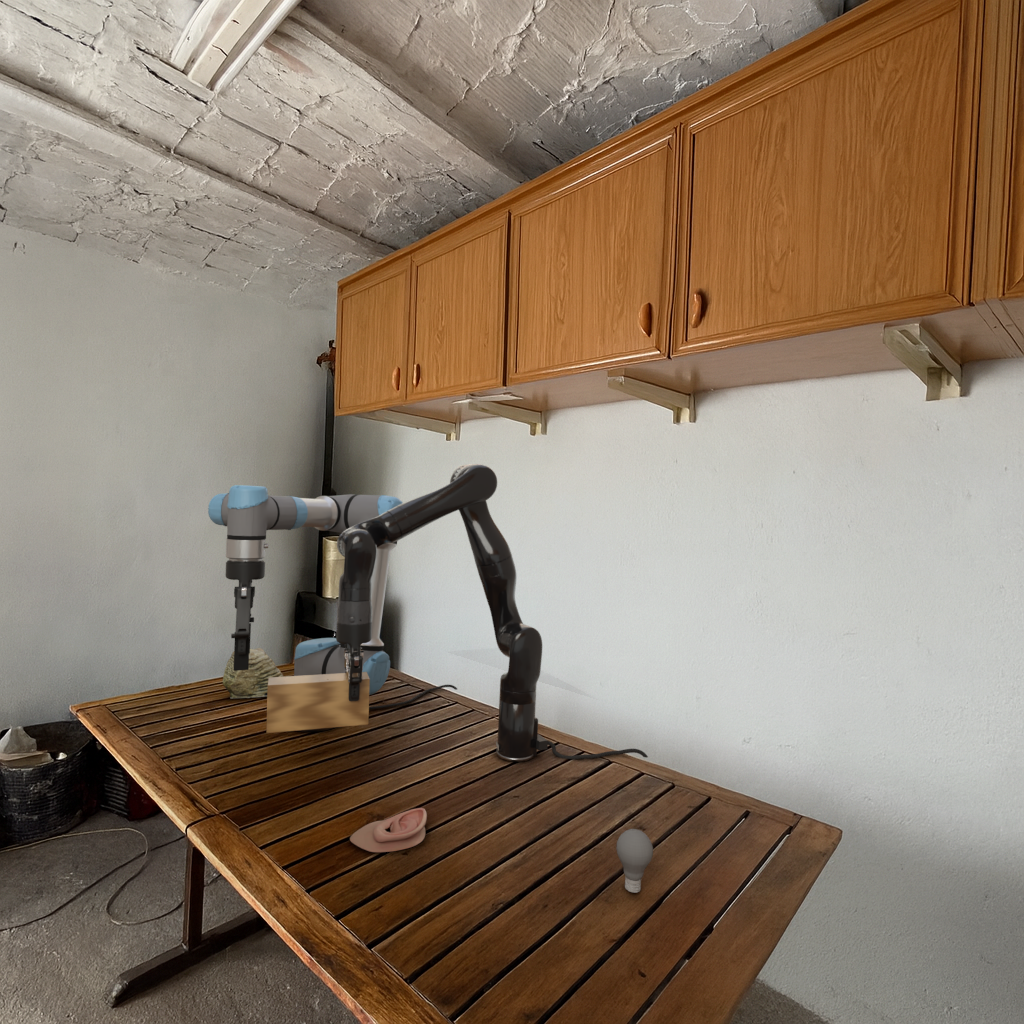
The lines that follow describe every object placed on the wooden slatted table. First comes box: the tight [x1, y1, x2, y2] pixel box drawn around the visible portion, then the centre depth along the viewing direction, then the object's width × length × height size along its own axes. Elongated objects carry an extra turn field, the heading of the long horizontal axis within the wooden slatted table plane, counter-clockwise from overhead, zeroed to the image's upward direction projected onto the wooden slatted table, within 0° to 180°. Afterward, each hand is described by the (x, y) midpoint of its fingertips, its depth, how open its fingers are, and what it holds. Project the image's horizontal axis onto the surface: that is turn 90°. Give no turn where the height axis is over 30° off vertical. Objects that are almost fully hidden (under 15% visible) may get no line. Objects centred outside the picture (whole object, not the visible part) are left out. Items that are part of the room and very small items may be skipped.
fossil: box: [222, 647, 285, 699], centre depth 198 cm, size 9×18×15 cm, turn 132°
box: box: [265, 672, 370, 734], centre depth 136 cm, size 21×6×10 cm, turn 109°
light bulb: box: [615, 828, 654, 894], centre depth 106 cm, size 6×6×10 cm
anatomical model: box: [349, 807, 428, 853], centre depth 119 cm, size 13×4×12 cm
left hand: (242, 661), depth 132 cm, fingers open, 13 cm apart
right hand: (352, 695), depth 139 cm, fingers closed on box, 5 cm apart
